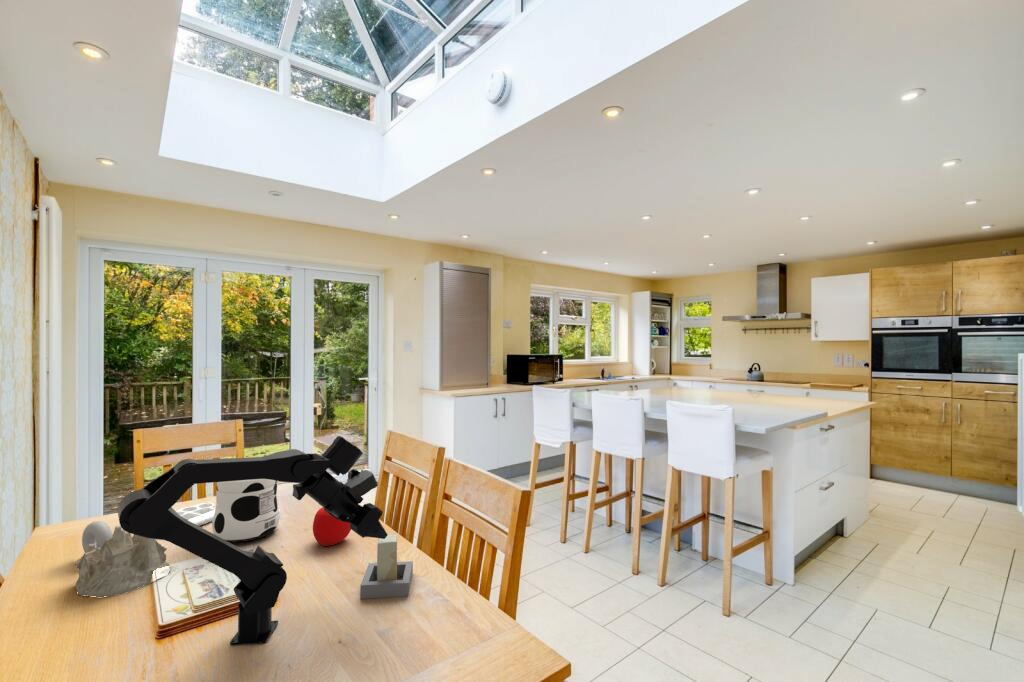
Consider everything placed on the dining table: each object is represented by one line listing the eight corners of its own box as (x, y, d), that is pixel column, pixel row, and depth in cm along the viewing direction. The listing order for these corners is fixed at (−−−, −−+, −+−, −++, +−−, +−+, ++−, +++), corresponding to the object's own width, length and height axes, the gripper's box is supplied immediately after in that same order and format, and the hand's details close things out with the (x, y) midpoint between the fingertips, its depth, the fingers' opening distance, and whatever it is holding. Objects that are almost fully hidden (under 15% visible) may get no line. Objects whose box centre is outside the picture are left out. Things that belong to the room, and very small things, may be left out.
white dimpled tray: (178, 537, 136) (142, 531, 141) (232, 516, 153) (198, 510, 158) (178, 526, 136) (142, 519, 141) (232, 505, 153) (198, 500, 158)
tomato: (303, 548, 129) (303, 508, 129) (327, 533, 139) (327, 496, 139) (337, 552, 127) (337, 512, 127) (358, 536, 137) (359, 499, 137)
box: (395, 590, 107) (396, 542, 107) (376, 592, 106) (376, 543, 107) (397, 579, 112) (397, 533, 113) (378, 581, 112) (378, 534, 112)
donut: (78, 559, 121) (79, 520, 121) (94, 553, 125) (95, 516, 125) (100, 566, 117) (100, 526, 117) (116, 561, 121) (116, 522, 121)
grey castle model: (178, 573, 114) (174, 511, 114) (91, 608, 100) (87, 537, 100) (150, 561, 122) (147, 503, 123) (66, 591, 108) (62, 526, 109)
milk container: (219, 527, 143) (220, 468, 143) (282, 520, 149) (283, 463, 149) (204, 551, 127) (205, 484, 127) (276, 542, 133) (277, 478, 133)
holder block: (408, 596, 105) (408, 582, 105) (360, 598, 104) (360, 585, 104) (412, 573, 115) (412, 561, 115) (368, 575, 114) (368, 563, 114)
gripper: (374, 469, 97) (419, 510, 105) (338, 454, 111) (380, 491, 119) (336, 516, 92) (387, 556, 99) (303, 494, 106) (349, 530, 113)
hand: (376, 530), depth 108 cm, fingers open, 9 cm apart
